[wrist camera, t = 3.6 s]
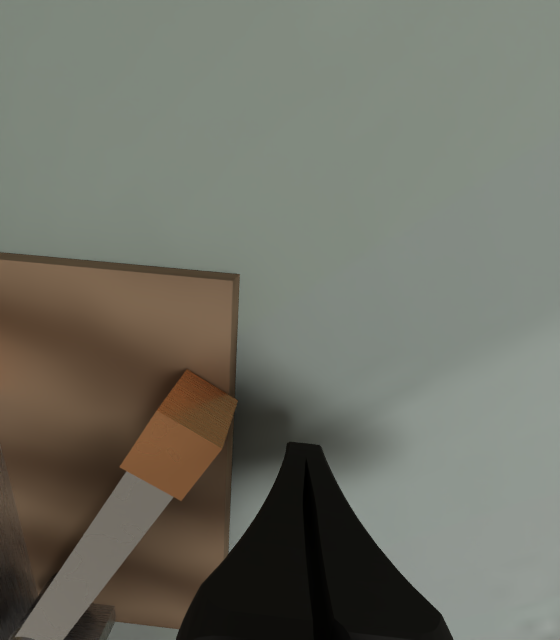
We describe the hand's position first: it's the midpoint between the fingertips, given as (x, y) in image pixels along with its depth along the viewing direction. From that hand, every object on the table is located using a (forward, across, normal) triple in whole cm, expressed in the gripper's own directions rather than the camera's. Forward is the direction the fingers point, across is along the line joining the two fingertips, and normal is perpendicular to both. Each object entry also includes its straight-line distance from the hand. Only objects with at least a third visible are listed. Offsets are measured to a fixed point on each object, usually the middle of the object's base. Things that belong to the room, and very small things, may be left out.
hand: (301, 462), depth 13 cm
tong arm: (+1, +9, +5) cm, 10 cm away
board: (+3, +11, +4) cm, 12 cm away
